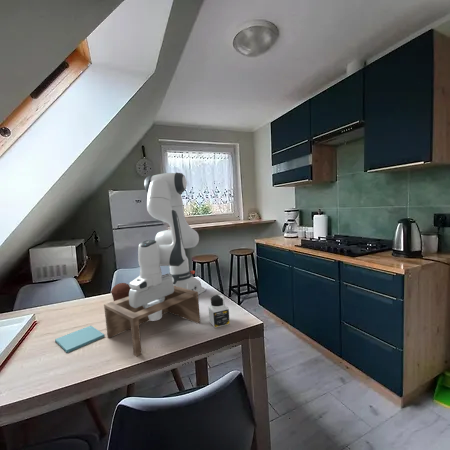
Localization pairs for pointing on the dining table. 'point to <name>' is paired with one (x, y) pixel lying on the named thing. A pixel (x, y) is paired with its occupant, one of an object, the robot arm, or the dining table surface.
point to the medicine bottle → (218, 311)
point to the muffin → (120, 291)
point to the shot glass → (155, 315)
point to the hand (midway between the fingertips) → (154, 309)
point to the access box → (149, 313)
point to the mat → (79, 338)
